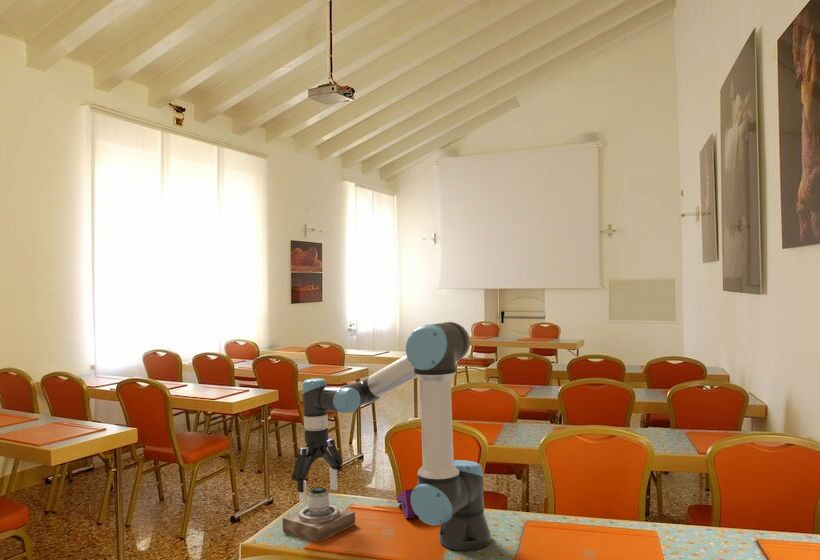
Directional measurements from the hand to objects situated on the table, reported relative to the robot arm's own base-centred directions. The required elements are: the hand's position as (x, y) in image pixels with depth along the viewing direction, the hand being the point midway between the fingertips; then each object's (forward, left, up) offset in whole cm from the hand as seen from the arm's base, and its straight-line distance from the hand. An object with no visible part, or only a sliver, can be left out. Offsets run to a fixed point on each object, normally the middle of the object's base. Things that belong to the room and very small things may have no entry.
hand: (319, 495), depth 199 cm
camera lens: (0, 0, -6) cm, 6 cm away
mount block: (0, 0, -10) cm, 10 cm away
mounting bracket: (-16, -28, -11) cm, 34 cm away
